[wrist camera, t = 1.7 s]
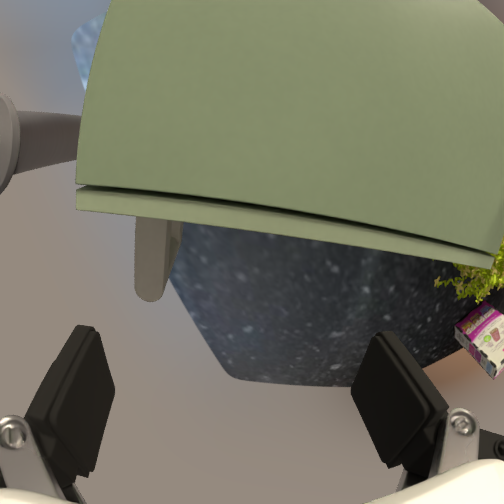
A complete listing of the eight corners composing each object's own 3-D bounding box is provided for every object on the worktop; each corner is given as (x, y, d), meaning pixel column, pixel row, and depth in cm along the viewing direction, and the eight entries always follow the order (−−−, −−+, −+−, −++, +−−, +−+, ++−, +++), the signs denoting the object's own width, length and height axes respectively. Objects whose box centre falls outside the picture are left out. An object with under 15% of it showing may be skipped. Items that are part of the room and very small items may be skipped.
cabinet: (362, 189, 38) (497, 255, 15) (168, 155, 34) (74, 184, 11) (383, 72, 31) (520, 42, 9) (194, 26, 27) (164, -100, 5)
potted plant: (519, 223, 50) (436, 162, 36) (557, 241, 37) (509, 182, 24) (496, 288, 56) (400, 275, 42) (531, 312, 43) (460, 320, 30)
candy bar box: (453, 338, 52) (492, 381, 37) (453, 324, 51) (496, 368, 35) (484, 313, 51) (524, 349, 36) (485, 298, 50) (528, 335, 34)
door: (349, 244, 40) (454, 347, 18) (161, 218, 36) (86, 331, 14) (362, 191, 38) (495, 257, 15) (167, 157, 33) (75, 189, 11)
